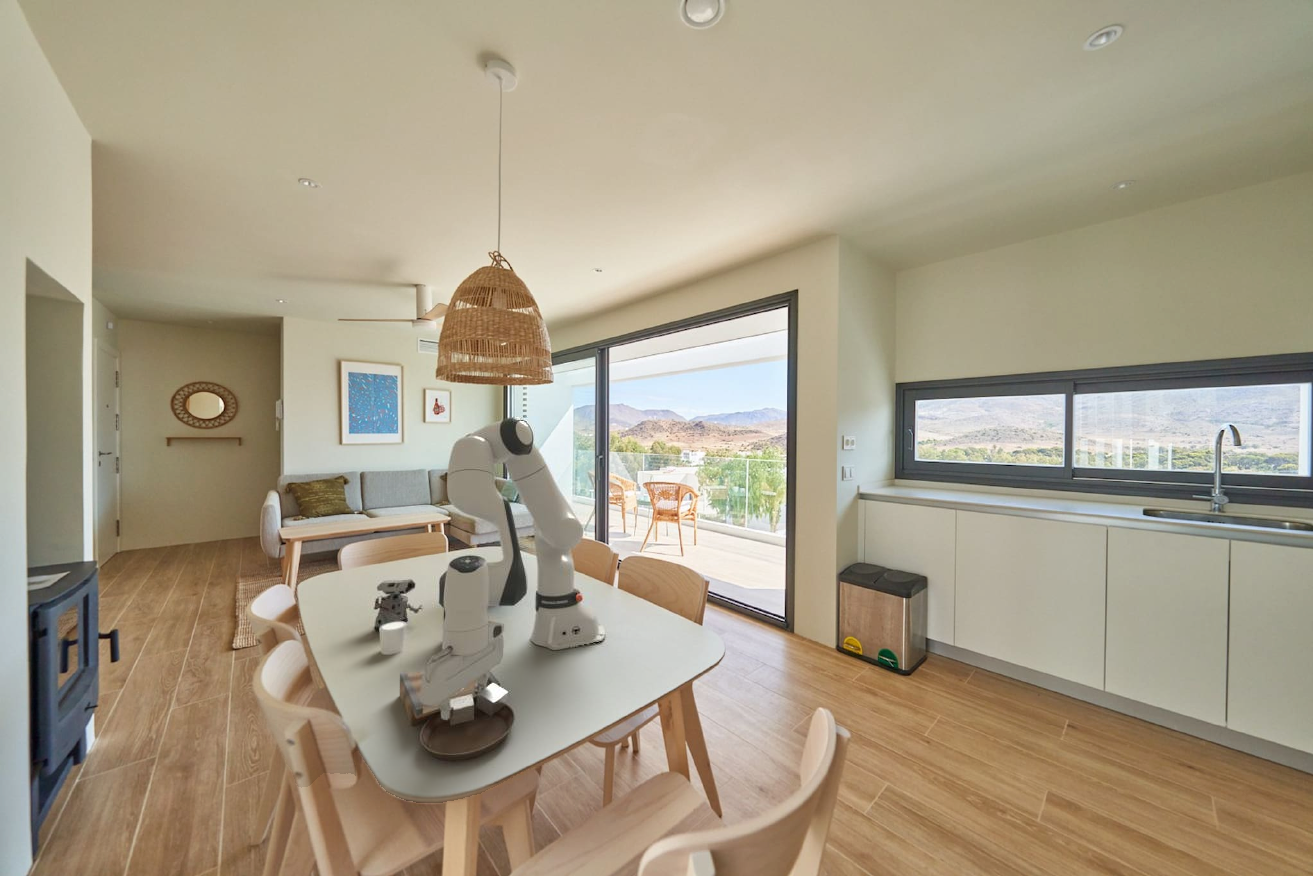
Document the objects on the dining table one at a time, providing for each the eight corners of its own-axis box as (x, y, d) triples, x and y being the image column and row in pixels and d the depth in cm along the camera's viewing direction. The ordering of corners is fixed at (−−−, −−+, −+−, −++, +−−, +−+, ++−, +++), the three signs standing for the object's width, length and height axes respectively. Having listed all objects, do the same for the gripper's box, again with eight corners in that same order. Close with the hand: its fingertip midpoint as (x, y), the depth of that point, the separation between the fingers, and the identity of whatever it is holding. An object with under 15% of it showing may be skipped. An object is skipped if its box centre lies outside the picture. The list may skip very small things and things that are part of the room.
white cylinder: (394, 657, 125) (394, 631, 126) (372, 654, 127) (373, 629, 127) (412, 646, 132) (412, 622, 132) (391, 643, 134) (392, 619, 134)
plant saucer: (513, 759, 87) (513, 743, 87) (410, 777, 82) (410, 760, 82) (515, 707, 104) (515, 693, 104) (429, 719, 99) (429, 705, 99)
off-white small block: (450, 725, 92) (450, 710, 92) (449, 713, 96) (449, 699, 96) (473, 719, 94) (474, 704, 94) (471, 708, 98) (471, 694, 98)
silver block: (475, 706, 97) (477, 693, 96) (490, 695, 101) (492, 682, 100) (490, 715, 95) (493, 702, 95) (505, 704, 99) (508, 692, 99)
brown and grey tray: (399, 695, 107) (400, 672, 107) (474, 673, 117) (474, 652, 117) (415, 736, 92) (416, 709, 92) (499, 707, 103) (500, 683, 103)
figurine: (399, 635, 139) (400, 586, 139) (370, 630, 143) (371, 582, 143) (422, 624, 148) (423, 578, 148) (394, 619, 151) (395, 574, 151)
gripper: (439, 662, 83) (437, 738, 83) (509, 621, 103) (507, 683, 103) (412, 656, 85) (410, 731, 85) (486, 618, 105) (484, 678, 105)
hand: (464, 704), depth 94 cm, fingers open, 8 cm apart
